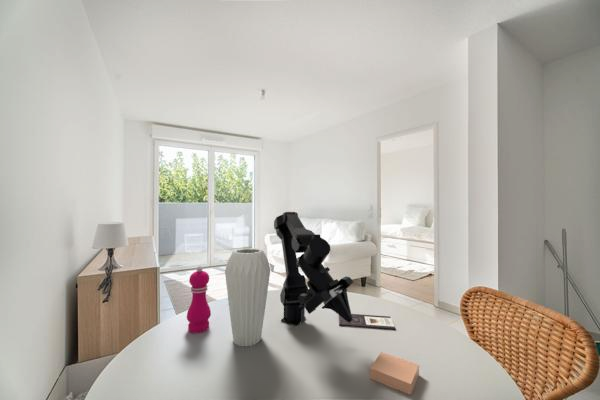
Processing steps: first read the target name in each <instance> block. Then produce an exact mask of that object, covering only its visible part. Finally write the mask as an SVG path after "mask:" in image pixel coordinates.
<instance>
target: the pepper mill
mask: <svg viewBox="0 0 600 400" xmlns="http://www.w3.org/2000/svg"><path fill="white" fill-rule="evenodd" d="M188 281H189V285H191V287H190V289H191V290H190V292H191V293H192V297H191V298H192V299H191V302H190V305H189V306H188V307H189V308H188V310H187V312H186V320H187V322H189V323H188V324H187V325H188V326H187V331H188V332H189V333H193V334H199V333H203V332H206V331H207V330H208V329H209V328H210V321H209V319H210V317H211V316H212V315H211V314H212V312H211V307H210V305H209V303H208V301H207V291H208V285H207V284H208V283H209V281H210V276H209V273H208V272H206V271H205V270H203V266H197V267H196V271H194V272H192V273H191V275H190V276H189V280H188Z"/></svg>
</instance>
